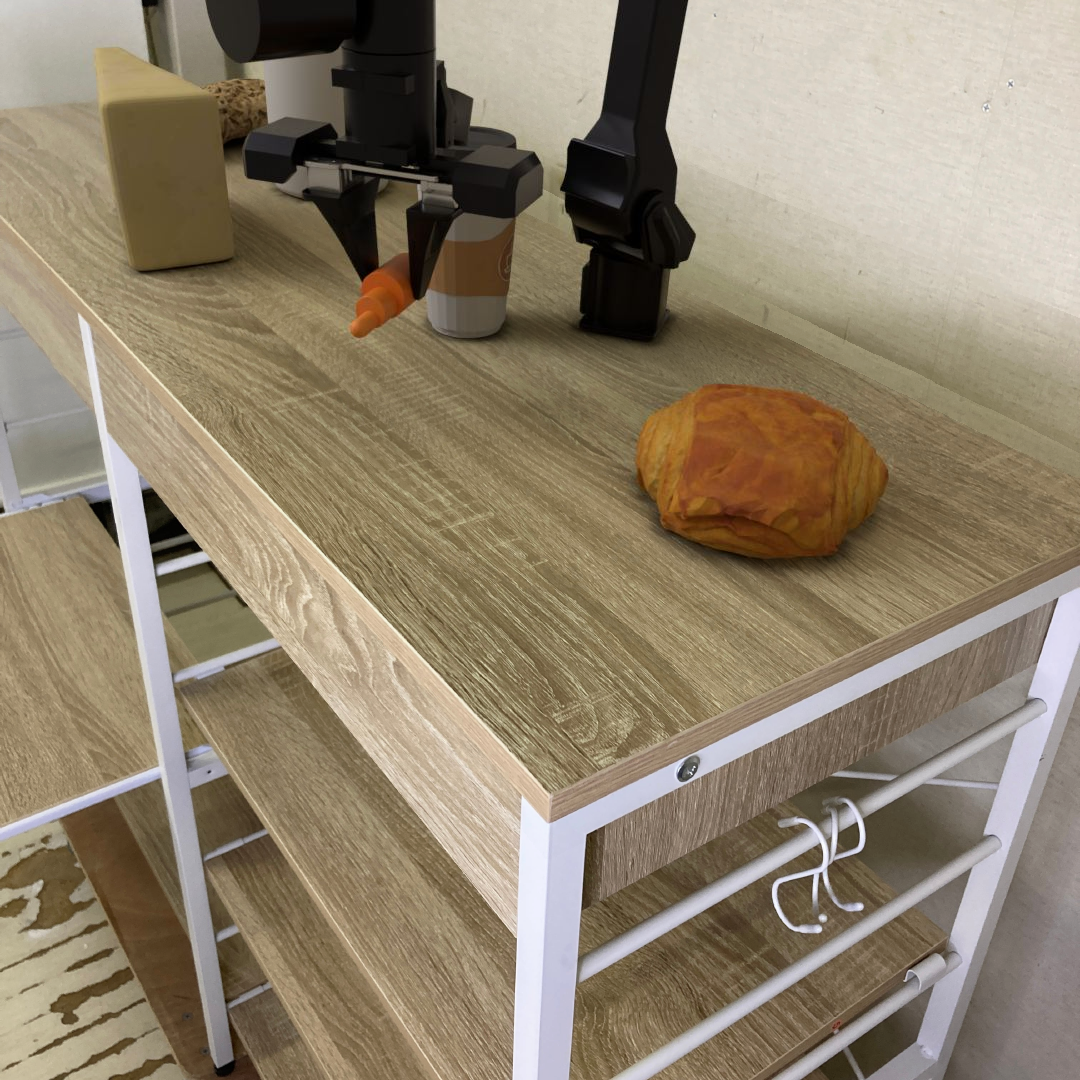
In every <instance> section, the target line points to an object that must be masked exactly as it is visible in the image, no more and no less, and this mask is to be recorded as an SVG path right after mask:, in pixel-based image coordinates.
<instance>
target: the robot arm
mask: <svg viewBox="0 0 1080 1080" xmlns="http://www.w3.org/2000/svg"><path fill="white" fill-rule="evenodd" d="M204 1H205V7H206V11H207V12H206V13H207V17H208V19H209V23H210V26H211V30H212V32H213V34H214V37H215V39H216V41H217V43H218V44H219V46H220V48H221V50H222V51H223V52H224V53H225V54H226V56H227V57H228V58H229V59H231V60H232V61H233V62H235V63H237V64H239V65H240V64H249V63H256V62H263V61H267V60H276V59H285V58H294V57H302V56H311V55H320V54H328V53H333V52H334V51H336V50H337V49H338V48H339V47H340V45H341V65H339V66H336V67H333V68H331V75H332V86H334V87H342V88H343V102H344V120H345V135H344V136H342V137H340V138H338V133H337V132H336V130H335V129H334V127H333V126H332V124H331V123H327V122H320V121H313V120H306V119H299V118H292V117H284V118H282V119H279V120H277V121H274V122H272V123H269V124H267V125H265V126H262V127H260V128H257V129H255V130H253V131H250V133H249V134H248V136H246V137H245V139H244V142H243V145H242V148H241V154H242V165H243V173H244V177H245V178H246V179H247V180H254V181H259V182H267V183H272V184H275V183H278V184H284V183H286V182H288V180H289V179H290V178H291V177H292V176H293V175H294V174H295V173H296V172H297V166H302V167H306V168H307V182H308V187H307V188H305V189H304V190H302V197H303V198H302V199H303V200H304V201H306V202H310V203H311V202H312V203H313V204H314V205H315V206H316V208H317V209H318V211H319V213H320V214H321V216H322V217H323V219H324V220H325V221H326V223H327V224H328V226H329V228H330V229H331V230H332V232H333V233H334V235H335V236H336V238H337V240H338V241H339V243H340V245H341V246H342V248H343V251H344V252H345V254H346V255H347V257H348V259H349V261H350V263H351V265H352V267H353V268H354V270H355V272H356V274H357V276H358V278H359V279H360V281H361V284H362V283H363V281H364V279H365V278H366V277H367V276H368V275H369V274H371V273H372V272H374V271H375V270H376V269H378V268H379V267H380V257H379V244H378V229H377V219H376V202H377V201H376V200H377V196H378V193H379V192H378V188H379V183H380V178H381V179H388V181H395V182H402V183H406V184H407V183H408V184H414V185H417V184H420V185H421V192H422V199H421V200H418V201H416V202H415V203H413V204H412V205H410V206H409V207H407V208H406V209H405V219H406V220H405V222H406V238H407V252H408V253H409V269H410V283H411V288H412V292H413V297H414V299H415V300H416V301H421V300H422V299H423V298H425V297H426V292H427V289H428V286H429V283H430V280H431V277H432V274H433V271H434V269H435V266H436V263H437V260H438V257H439V254H440V251H441V248H442V245H443V243H444V240H445V238H446V235H447V233H448V231H449V229H450V227H451V225H452V223H453V221H454V220H455V219H456V218H457V217H459V216H460V215H461V214H463V213H469V214H476V215H482V216H488V217H495V218H501V219H507V218H515V217H516V218H517V217H518V216H520V214H522V213H523V212H524V211H526V210H527V208H529V207H530V206H531V205H532V204H534V203H535V202H536V201H537V200H538V199H540V198H541V197H542V196H543V194H544V172H545V169H544V166H543V164H542V162H541V160H540V158H539V157H538V155H537V153H536V151H534V150H533V151H532V150H529V149H519V148H517V149H513V148H506V147H499V146H492V145H483V146H482V147H480V148H479V149H477V150H475V151H474V152H472V153H471V154H469V155H468V156H466V157H464V158H463V159H462V158H455V157H448V156H441V155H437V149H439V148H442V149H447V148H449V147H451V146H452V145H455V146H463V147H467V146H468V138H469V130H470V126H471V122H472V116H473V115H472V114H473V106H474V97H472V96H470V95H468V94H466V93H464V92H462V91H460V90H458V89H456V88H451V87H449V86H448V83H447V68H446V67H445V60H443V59H437V0H204ZM688 5H689V0H618V2H617V7H616V15H615V21H614V28H613V34H612V41H611V46H610V54H609V60H608V66H607V73H606V78H605V79H606V80H605V86H604V93H603V100H602V106H601V110H600V114H599V117H598V119H597V121H596V122H595V123H594V125H593V126H592V127H591V128H590V130H589V131H588V132H587V134H586V135H585V136H584V138H583V139H581V138H577V137H572V138H571V139H570V141H569V143H568V146H567V148H566V166H565V173H564V177H563V180H562V182H561V184H560V186H559V191H560V192H562V193H564V210H565V213H566V214H567V215H568V216H569V218H570V220H571V224H572V230H573V234H574V238H575V242H576V243H578V244H580V245H586V246H588V247H591V249H590V250H589V259H588V261H587V262H586V263H585V264H584V265H583V266H582V268H581V281H580V293H579V313H580V315H582V317H581V318H580V319H579V320H578V325H577V327H578V328H579V329H581V330H585V331H592V332H597V333H603V334H606V335H607V334H608V335H612V336H613V335H614V336H619V337H625V338H629V339H636V340H640V341H647V342H652V341H654V340H655V339H656V337H657V336H658V334H659V333H660V331H661V330H662V329H663V327H664V325H665V324H666V323H667V320H668V319H669V318H670V316H671V309H669V308H668V307H667V306H668V305H667V304H668V296H669V286H670V279H671V278H670V276H671V270H675V269H679V267H680V263H684V262H687V261H688V260H689V258H690V257H691V253H692V250H693V247H694V244H695V242H696V238H697V233H696V232H695V230H694V228H693V227H692V225H691V224H690V223H689V222H688V220H687V218H686V217H685V216H684V214H683V212H682V211H681V210H680V208H679V207H678V205H677V204H676V196H677V195H676V194H677V182H678V172H679V171H678V165H677V162H676V158H675V154H674V151H673V148H672V145H671V141H670V138H669V134H668V132H667V121H668V114H669V109H670V105H671V103H670V102H671V98H672V92H673V88H674V83H675V75H676V70H677V65H678V60H679V54H680V48H681V44H682V43H681V42H682V38H683V32H684V28H685V21H686V16H687V10H688ZM366 161H369V162H366ZM372 162H376V163H372ZM379 163H383V164H379ZM414 167H419V169H414ZM377 192H378V193H377Z"/></svg>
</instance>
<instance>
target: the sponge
mask: <svg viewBox="0 0 1080 1080" xmlns="http://www.w3.org/2000/svg"><path fill="white" fill-rule="evenodd" d="M199 87H200V88H202V89H204V90H206V91H208V92H210V93H212V94H213V95H215V97H216V98H217V101H218V107H219V116H220V125H221V134H222V143H223V145H225V144H226V143H228V142H229V141H231V140H233V139H240V138H241V139H242V138H246V137H247V136H248V134H249V133H250V131H253V130H255V129H257V128H260V127H262V126H265V125H267V124H268V116H267V105H266V94H265V83H264V79H261V78H232V79H226V80H221V81H218V82H213V83H210V84H206V85H204V86H199Z"/></svg>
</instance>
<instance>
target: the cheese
mask: <svg viewBox="0 0 1080 1080" xmlns="http://www.w3.org/2000/svg"><path fill="white" fill-rule="evenodd" d="M93 59H94V60H93V62H94V63H93V64H94V70H95V77H96V92H97V93H96V94H97V104H98V105H97V106H98V111H99V113H98V114H99V122H100V130H101V137H102V144H103V145H102V146H103V151H104V155H105V156H104V157H105V162H106V167H107V170H108V175H109V180H110V183H111V189H112V194H113V199H114V203H115V208H116V212H117V216H118V222H119V225H120V230H121V234H122V239H123V242H124V243H123V244H124V246H125V252H126V256H127V260H128V264H129V266H130V268H131V269H132V270H135V271H139V272H140V271H141V272H144V271H156V270H164V269H171V268H178V267H188V266H195V265H202V264H203V265H204V264H209V263H216V262H223V261H227V260H229V259H231V258H232V257H233V256H234V255H235V242H234V241H235V240H234V230H233V229H234V228H233V219H232V213H231V212H232V211H231V205H230V198H229V189H228V182H227V173H226V172H227V171H226V163H225V155H224V153H225V152H224V144H223V143H222V134H221V125H220V116H219V107H218V101H217V98H216V97H215V95H213V94H212V93H210V92H208V91H206V90H204V89H202V88H200V87H201V86H198V85H196V84H194V83H193V82H190V81H188V80H187V79H185V78H182V77H180V76H179V75H177V74H175V73H173V72H170V71H168V70H165V69H164V68H161V67H158V66H157V65H155V64H152V63H150V62H148V61H147V60H144V59H143V58H141V57H138V56H136V55H135V54H133V53H131V52H130V51H128V50H126V49H124V48H122V47H119V46H103V47H102V46H101V47H97V48H96V49H95V50H94V54H93Z"/></svg>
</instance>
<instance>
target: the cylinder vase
mask: <svg viewBox="0 0 1080 1080" xmlns="http://www.w3.org/2000/svg"><path fill="white" fill-rule="evenodd" d="M339 65H341V45H340V47H339V48H338V49H337V50H336V51H334V52H333V53H328V54H320V55H311V56H302V57H294V58H285V59H276V60H267V61H262V70H263V80H264V83H265V94H266V105H267V116H268V124H269V123H272V122H274V121H277V120H279V119H282V118H284V117H292V118H299V119H306V120H313V121H320V122H327V123H331V124H332V126H333V127H334V129H335V130H336V132H337V133H338V138H340V137H342V136H344V135H345V120H344V102H343V88H342V87H334V86H332V75H331V68H333V67H336V66H339ZM366 162H369V161H366ZM372 163H376V162H372ZM379 164H383V163H379ZM388 183H389V180H388V179H381V178H380V183H379V188H378V192H377V194H378V193H380V192H382V191H383V190H384V189H385V188H386V187H387V185H388ZM274 185H275V187H277V188H278V189H279V190H280V191H281V192H283V193H284V194H287V195H289V196H292V197H296V198H299V199H303V197H302V190H304V189H305V188H307V187H308V182H307V168H306V167H302V166H297V172H296V173H295V174H294V175H293V176H292V177H291V178H290V179H289V180H288V182H286V183H284V184H278V183H274Z"/></svg>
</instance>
